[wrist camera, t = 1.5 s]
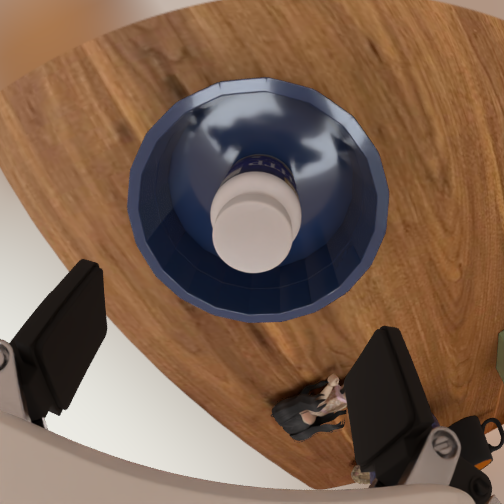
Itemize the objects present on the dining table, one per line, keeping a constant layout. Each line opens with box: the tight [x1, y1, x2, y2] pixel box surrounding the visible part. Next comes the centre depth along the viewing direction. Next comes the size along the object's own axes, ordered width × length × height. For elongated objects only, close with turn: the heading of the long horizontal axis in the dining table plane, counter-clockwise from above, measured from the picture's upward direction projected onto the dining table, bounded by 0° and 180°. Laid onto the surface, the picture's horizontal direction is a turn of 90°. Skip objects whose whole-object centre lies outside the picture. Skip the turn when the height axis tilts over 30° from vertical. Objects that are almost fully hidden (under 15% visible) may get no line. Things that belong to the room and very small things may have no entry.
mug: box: [449, 416, 504, 470], centre depth 37 cm, size 8×12×10 cm
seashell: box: [351, 465, 370, 484], centre depth 44 cm, size 11×7×10 cm
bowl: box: [127, 77, 389, 323], centre depth 21 cm, size 16×16×6 cm
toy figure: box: [271, 374, 347, 442], centre depth 32 cm, size 7×6×15 cm
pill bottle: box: [210, 154, 301, 273], centre depth 19 cm, size 5×5×9 cm
